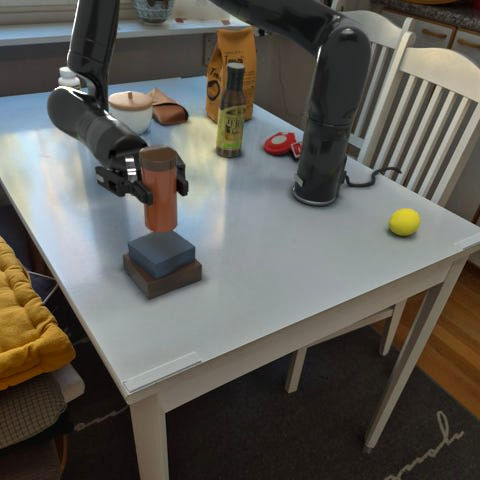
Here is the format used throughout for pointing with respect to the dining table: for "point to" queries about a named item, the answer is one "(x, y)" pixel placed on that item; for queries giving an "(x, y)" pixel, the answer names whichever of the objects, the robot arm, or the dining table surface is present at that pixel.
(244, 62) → the coffee package
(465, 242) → the dining table surface
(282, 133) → the tracker holder
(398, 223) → the lemon
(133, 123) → the trinket box
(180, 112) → the sunglasses case
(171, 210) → the terracotta canister
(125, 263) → the block stack
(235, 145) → the sauce bottle
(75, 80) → the supplement bottle
